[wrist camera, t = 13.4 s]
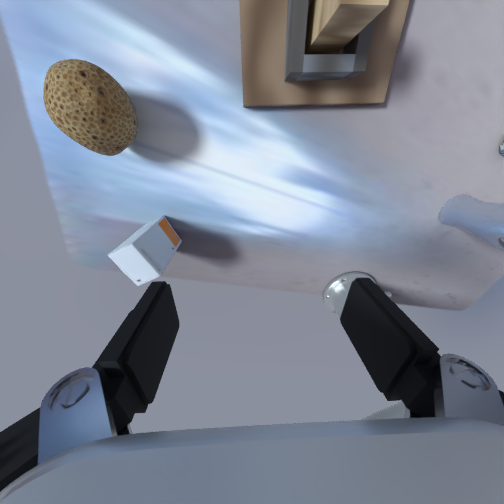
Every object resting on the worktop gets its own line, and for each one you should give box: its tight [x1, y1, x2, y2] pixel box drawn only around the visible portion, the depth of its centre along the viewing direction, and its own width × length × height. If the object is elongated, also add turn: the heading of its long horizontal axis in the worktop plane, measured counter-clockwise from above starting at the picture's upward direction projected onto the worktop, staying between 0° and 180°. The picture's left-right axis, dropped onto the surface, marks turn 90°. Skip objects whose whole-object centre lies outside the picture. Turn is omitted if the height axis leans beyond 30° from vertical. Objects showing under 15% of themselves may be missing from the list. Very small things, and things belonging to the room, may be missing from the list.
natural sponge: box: [44, 59, 137, 156], centre depth 23 cm, size 9×9×10 cm
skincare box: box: [108, 216, 182, 286], centre depth 31 cm, size 6×4×12 cm
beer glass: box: [439, 195, 504, 251], centre depth 31 cm, size 7×7×15 cm
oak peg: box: [305, 0, 389, 55], centre depth 19 cm, size 4×4×10 cm
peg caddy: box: [240, 0, 410, 107], centre depth 22 cm, size 20×14×5 cm
